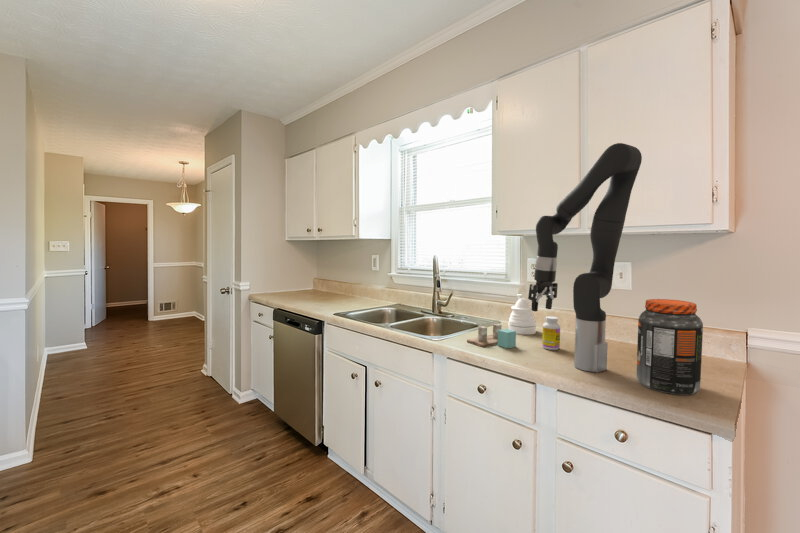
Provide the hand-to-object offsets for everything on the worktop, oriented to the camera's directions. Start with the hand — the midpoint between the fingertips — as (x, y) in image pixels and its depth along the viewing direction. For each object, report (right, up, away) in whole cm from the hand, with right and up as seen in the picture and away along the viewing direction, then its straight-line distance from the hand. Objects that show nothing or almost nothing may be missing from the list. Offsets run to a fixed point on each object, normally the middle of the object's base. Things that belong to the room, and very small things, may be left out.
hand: (541, 309), depth 143 cm
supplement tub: (+26, -20, -31) cm, 45 cm away
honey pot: (+5, -15, +39) cm, 42 cm away
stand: (-15, -16, +20) cm, 30 cm away
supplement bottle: (+7, -17, +10) cm, 21 cm away
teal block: (-10, -17, +13) cm, 23 cm away
